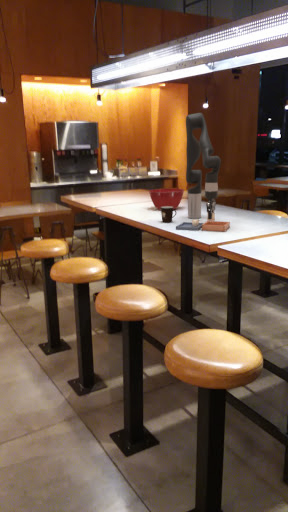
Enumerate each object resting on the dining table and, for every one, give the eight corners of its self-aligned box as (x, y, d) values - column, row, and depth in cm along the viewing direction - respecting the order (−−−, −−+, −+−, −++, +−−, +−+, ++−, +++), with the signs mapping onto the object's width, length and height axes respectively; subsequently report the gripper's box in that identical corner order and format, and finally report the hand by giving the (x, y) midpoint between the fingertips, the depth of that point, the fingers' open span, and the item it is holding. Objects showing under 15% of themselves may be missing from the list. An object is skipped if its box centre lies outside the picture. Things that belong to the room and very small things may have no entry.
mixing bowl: (143, 208, 347) (142, 189, 343) (173, 205, 359) (173, 187, 355) (158, 213, 322) (158, 192, 318) (190, 209, 334) (190, 190, 330)
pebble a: (208, 219, 260) (208, 212, 259) (215, 219, 258) (215, 212, 257) (206, 220, 256) (206, 213, 255) (213, 221, 254) (213, 213, 253)
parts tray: (183, 224, 273) (183, 222, 273) (204, 225, 268) (204, 223, 267) (175, 229, 259) (175, 226, 259) (197, 230, 254) (197, 227, 253)
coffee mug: (158, 221, 287) (158, 206, 285) (170, 220, 290) (170, 205, 288) (165, 224, 277) (165, 209, 274) (177, 223, 280) (177, 208, 277)
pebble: (193, 226, 265) (193, 219, 264) (199, 226, 263) (200, 219, 262) (191, 227, 261) (191, 220, 260) (197, 227, 259) (198, 220, 258)
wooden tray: (207, 226, 266) (207, 220, 265) (229, 227, 261) (229, 221, 260) (201, 230, 254) (201, 224, 253) (224, 231, 248) (224, 226, 248)
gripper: (208, 188, 260) (207, 216, 264) (202, 191, 248) (201, 220, 252) (220, 189, 257) (219, 216, 262) (214, 191, 245) (214, 220, 249)
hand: (210, 218), depth 257 cm, fingers closed on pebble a, 4 cm apart
